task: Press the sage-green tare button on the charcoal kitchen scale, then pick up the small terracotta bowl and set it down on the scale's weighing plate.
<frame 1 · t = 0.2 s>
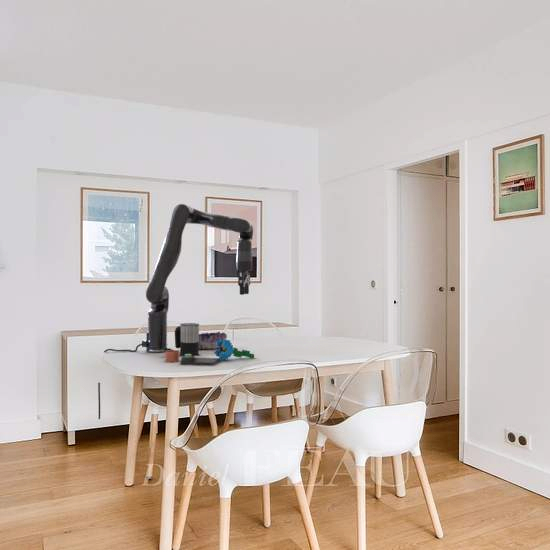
hand: (244, 294, 259), 29 cm above the table, tool pointing down, fingers open, 8 cm apart
geode: (207, 348, 278), on the table
milk frother: (181, 356, 254), on the table
tare button: (188, 356, 229), point 3 cm above the table, slide at 0.1 cm
toy flower: (235, 359, 242), on the table
scale: (200, 363, 232), on the table
bowl: (172, 361, 236), on the table
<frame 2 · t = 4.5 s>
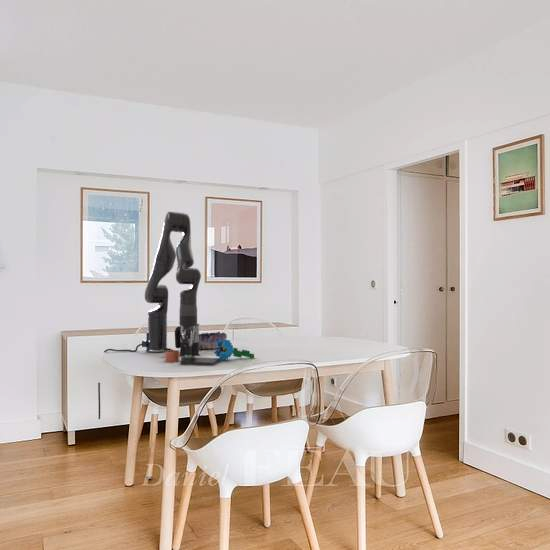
hand: (188, 355, 229), 4 cm above the table, tool pointing down, fingers closed
tare button: (188, 356, 229), point 3 cm above the table, slide at -0.2 cm, touching gripper
everything else where it was.
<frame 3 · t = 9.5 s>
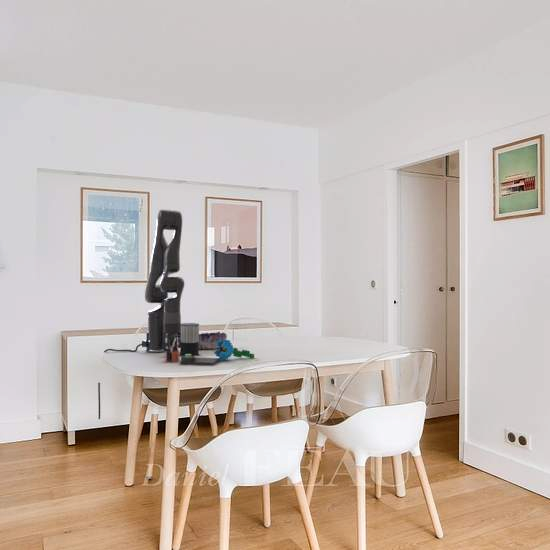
hand: (172, 359, 236), 1 cm above the table, tool pointing down, fingers closed on bowl, 6 cm apart
tare button: (188, 356, 229), point 3 cm above the table, slide at 0.1 cm
bowl: (172, 361, 236), on the table, touching gripper
everything else where it was.
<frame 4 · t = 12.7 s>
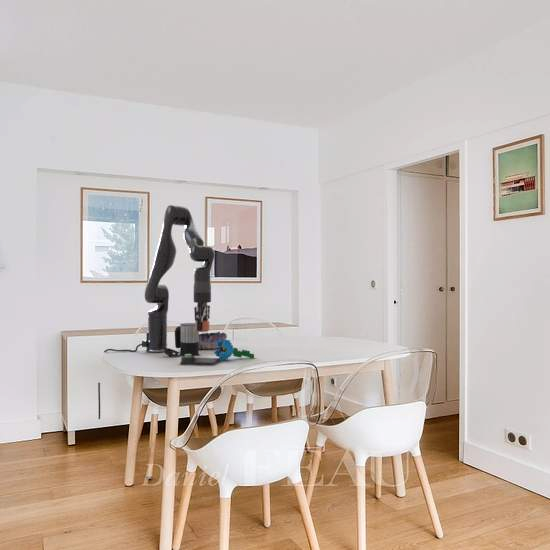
hand: (202, 329, 233), 14 cm above the table, tool pointing down, fingers closed on bowl, 6 cm apart
bowl: (202, 331, 233), point 14 cm above the table, touching gripper
everything else where it was.
when the fingers open (2 cm above the table, at t = 16.0 s): bowl stays where it is, resting on scale.
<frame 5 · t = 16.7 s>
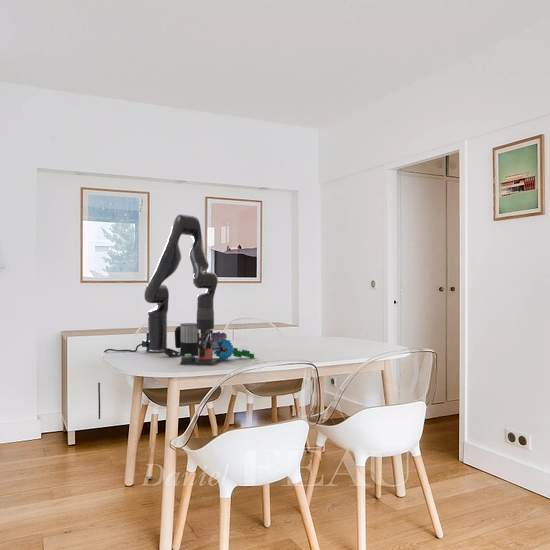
hand: (205, 355, 233), 3 cm above the table, tool pointing down, fingers open, 8 cm apart
bowl: (205, 359, 233), point 1 cm above the table, touching scale
everything else where it was.
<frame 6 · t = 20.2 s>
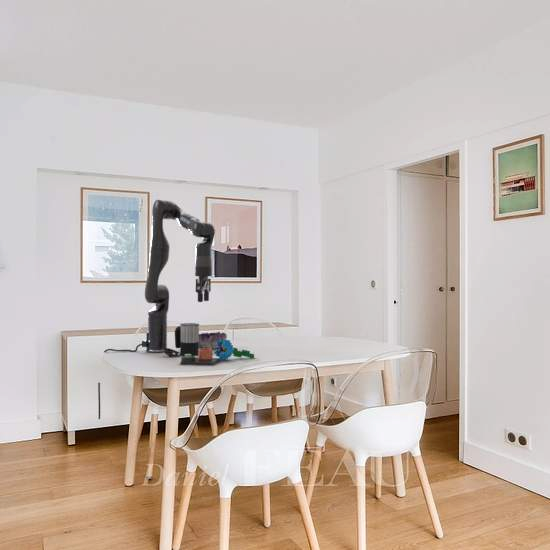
hand: (203, 301, 244), 26 cm above the table, tool pointing down, fingers open, 8 cm apart
nothing on the table moved.
at the end: tare button pushed in 0.9 cm at the most during the clip and back out by the end; bowl inside the target area on the scale (2.1 cm from its centre), point 1.4 cm above the scale's base; bowl touching scale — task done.
